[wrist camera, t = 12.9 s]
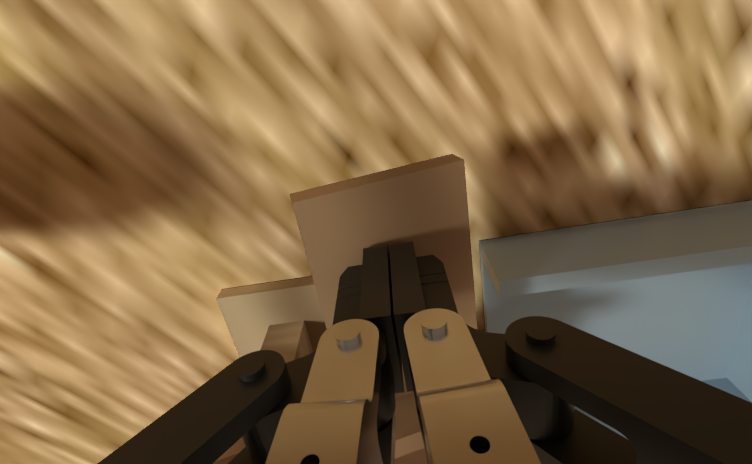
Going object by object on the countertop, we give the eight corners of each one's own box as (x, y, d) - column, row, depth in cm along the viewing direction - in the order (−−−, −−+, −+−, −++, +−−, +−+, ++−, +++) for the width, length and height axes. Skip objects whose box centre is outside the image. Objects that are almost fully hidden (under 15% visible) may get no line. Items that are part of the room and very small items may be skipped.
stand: (274, 426, 25) (247, 535, 20) (221, 289, 21) (167, 380, 16) (372, 414, 25) (371, 522, 19) (338, 272, 21) (324, 359, 15)
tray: (479, 240, 20) (499, 281, 17) (779, 196, 19) (863, 230, 16) (490, 407, 25) (508, 464, 21) (730, 378, 24) (787, 433, 20)
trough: (119, 596, 18) (89, 716, 14) (-139, 285, 11) (-301, 381, 8) (479, 457, 21) (521, 531, 17) (450, 142, 14) (510, 169, 11)
